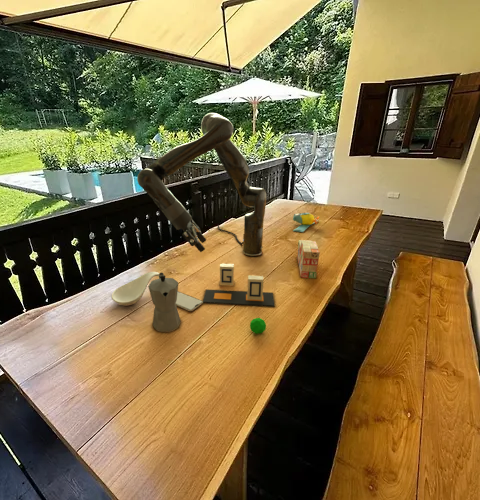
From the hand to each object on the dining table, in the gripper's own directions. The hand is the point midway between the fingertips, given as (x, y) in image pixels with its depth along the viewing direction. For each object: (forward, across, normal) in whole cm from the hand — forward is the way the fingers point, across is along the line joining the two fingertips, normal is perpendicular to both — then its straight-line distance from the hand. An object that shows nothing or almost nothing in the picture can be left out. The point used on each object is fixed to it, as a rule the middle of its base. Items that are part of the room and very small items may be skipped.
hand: (203, 245), depth 117 cm
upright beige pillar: (+24, -12, -6) cm, 28 cm away
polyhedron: (+24, -31, -6) cm, 39 cm away
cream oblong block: (+19, 0, +3) cm, 19 cm away
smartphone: (+9, -14, +16) cm, 23 cm away
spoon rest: (-1, -10, +30) cm, 31 cm away
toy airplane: (+52, +77, -35) cm, 99 cm away
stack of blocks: (+42, +16, -25) cm, 51 cm away
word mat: (+21, -11, -1) cm, 24 cm away
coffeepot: (+6, -27, +19) cm, 33 cm away
